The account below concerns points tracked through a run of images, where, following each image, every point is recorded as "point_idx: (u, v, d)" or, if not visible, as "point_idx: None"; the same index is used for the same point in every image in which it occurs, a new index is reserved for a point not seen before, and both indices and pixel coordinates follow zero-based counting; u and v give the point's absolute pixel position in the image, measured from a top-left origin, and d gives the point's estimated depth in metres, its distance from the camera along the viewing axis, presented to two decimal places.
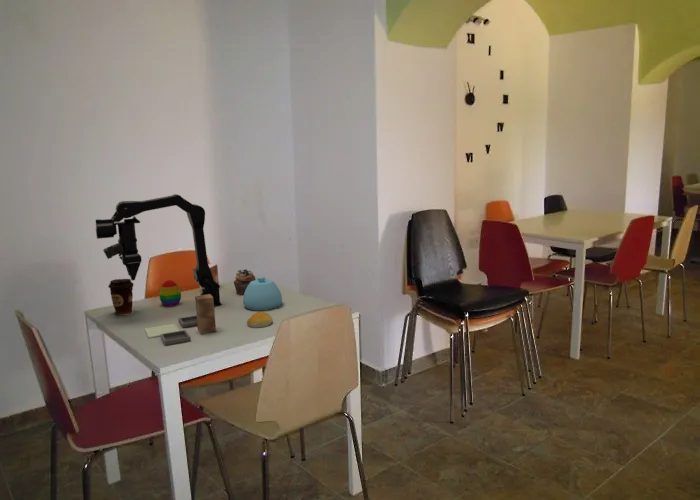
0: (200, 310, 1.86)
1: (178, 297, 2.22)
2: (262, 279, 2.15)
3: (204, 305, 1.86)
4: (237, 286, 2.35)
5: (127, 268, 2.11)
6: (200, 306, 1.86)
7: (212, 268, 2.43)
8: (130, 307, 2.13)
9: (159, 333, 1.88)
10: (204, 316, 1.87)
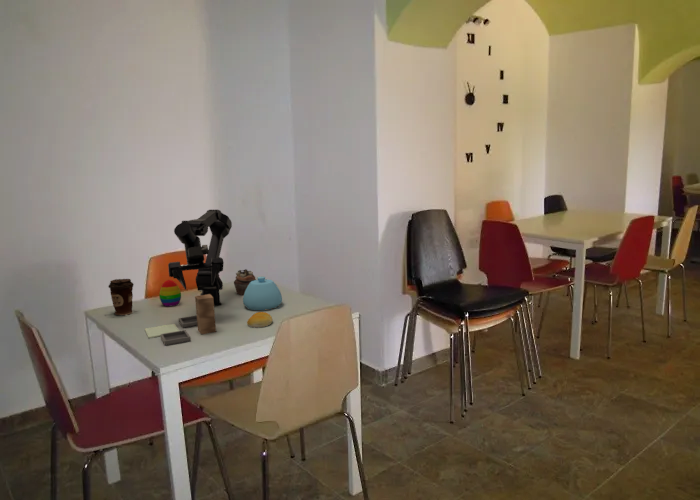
0: (200, 310, 1.86)
1: (178, 297, 2.22)
2: (262, 279, 2.15)
3: (204, 305, 1.86)
4: (237, 286, 2.35)
5: (184, 280, 1.95)
6: (200, 306, 1.86)
7: None
8: (130, 307, 2.13)
9: (159, 333, 1.88)
10: (204, 316, 1.87)
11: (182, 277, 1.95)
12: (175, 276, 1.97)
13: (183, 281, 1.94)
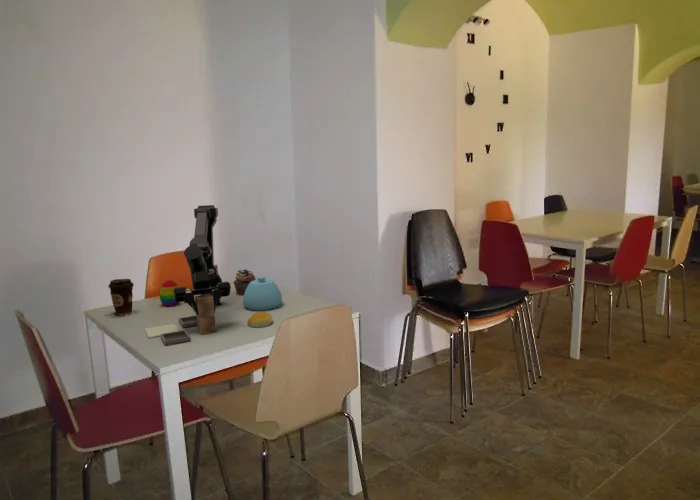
0: (200, 310, 1.86)
1: None
2: (262, 279, 2.15)
3: (204, 305, 1.86)
4: (237, 286, 2.35)
5: (196, 306, 1.88)
6: (200, 306, 1.86)
7: None
8: (130, 307, 2.13)
9: (159, 333, 1.88)
10: (204, 316, 1.87)
11: (194, 302, 1.88)
12: (186, 301, 1.91)
13: (195, 306, 1.87)
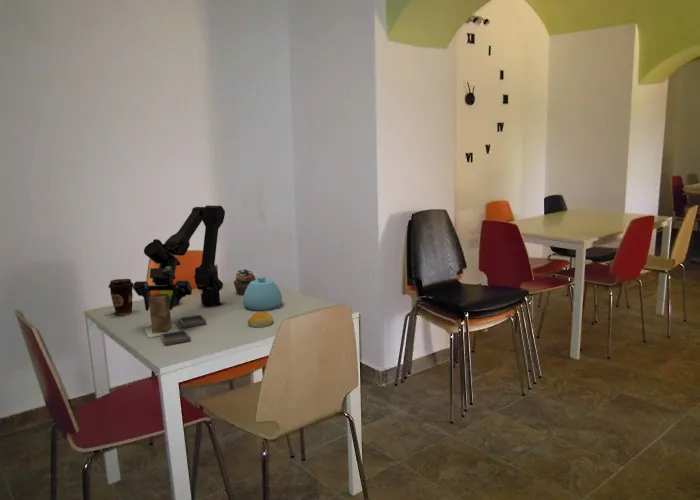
0: (151, 309, 1.87)
1: None
2: (262, 279, 2.15)
3: (155, 305, 1.87)
4: (237, 286, 2.35)
5: (147, 301, 1.89)
6: (151, 305, 1.87)
7: None
8: (130, 307, 2.13)
9: (159, 333, 1.88)
10: (155, 315, 1.88)
11: (145, 298, 1.90)
12: None
13: (145, 302, 1.89)
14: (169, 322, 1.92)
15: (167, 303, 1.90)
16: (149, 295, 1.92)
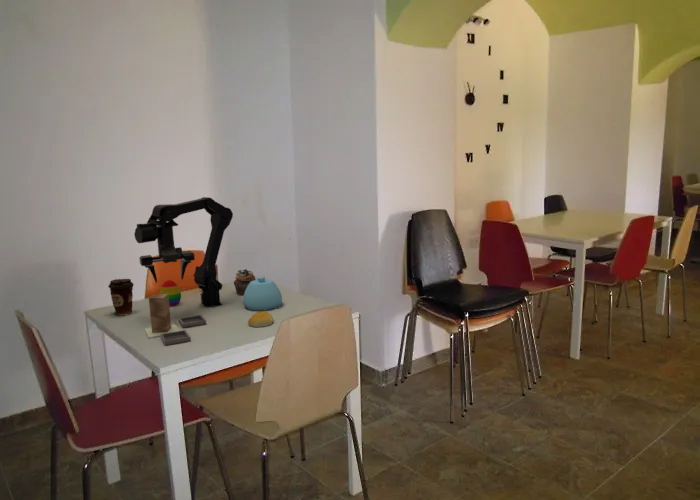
0: (151, 309, 1.87)
1: (178, 297, 2.22)
2: (262, 279, 2.15)
3: (155, 305, 1.87)
4: (237, 286, 2.35)
5: None
6: (151, 305, 1.87)
7: None
8: (130, 307, 2.13)
9: (159, 333, 1.88)
10: (155, 315, 1.88)
11: (154, 272, 2.04)
12: None
13: (154, 276, 2.04)
14: (169, 322, 1.92)
15: (167, 303, 1.90)
16: None
